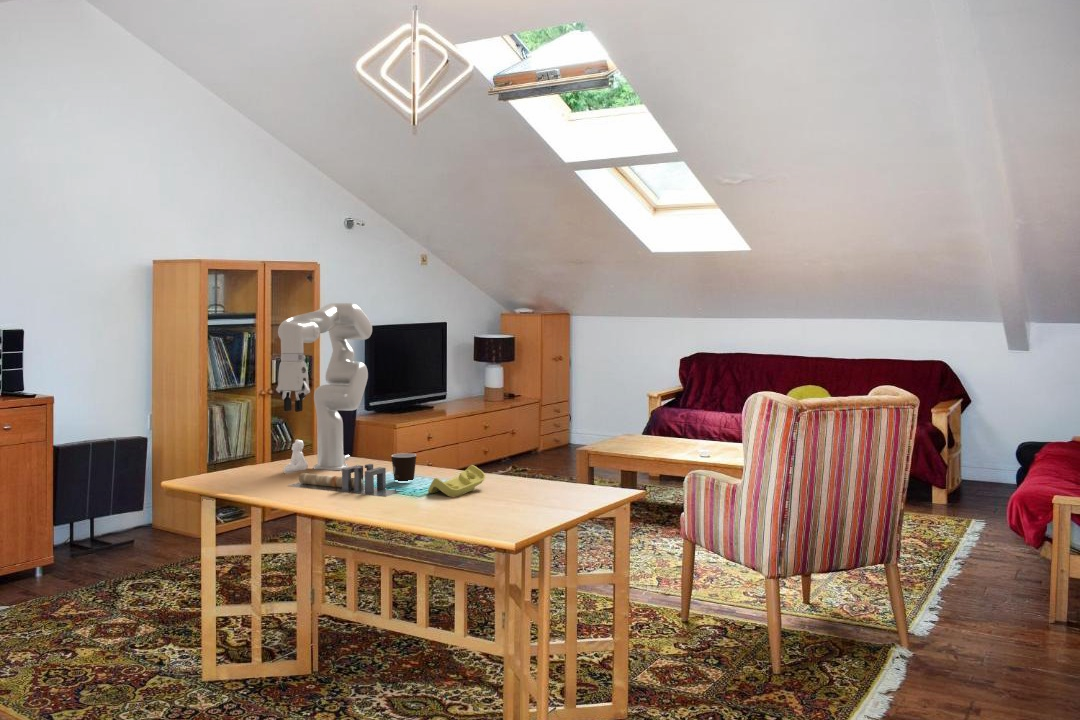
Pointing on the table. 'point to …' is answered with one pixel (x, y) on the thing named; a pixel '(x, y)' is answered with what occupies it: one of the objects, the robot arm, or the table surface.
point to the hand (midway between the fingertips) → (293, 410)
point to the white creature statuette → (296, 458)
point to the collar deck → (358, 482)
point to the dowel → (324, 480)
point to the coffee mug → (403, 466)
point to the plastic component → (459, 482)
